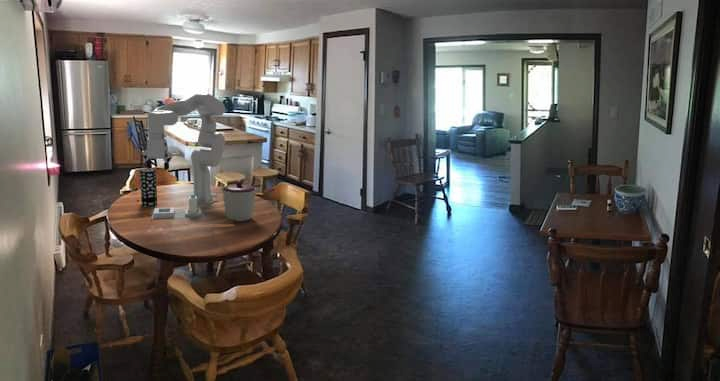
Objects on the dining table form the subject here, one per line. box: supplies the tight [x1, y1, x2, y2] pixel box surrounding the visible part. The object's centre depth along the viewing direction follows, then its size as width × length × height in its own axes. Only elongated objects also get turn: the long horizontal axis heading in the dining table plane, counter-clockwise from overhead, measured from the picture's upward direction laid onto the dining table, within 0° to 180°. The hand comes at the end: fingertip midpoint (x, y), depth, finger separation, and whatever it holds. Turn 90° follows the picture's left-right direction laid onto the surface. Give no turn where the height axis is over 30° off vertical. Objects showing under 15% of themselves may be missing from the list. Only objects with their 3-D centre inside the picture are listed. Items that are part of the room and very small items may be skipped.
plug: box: [188, 194, 198, 213], centre depth 282 cm, size 4×6×10 cm, turn 17°
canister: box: [221, 180, 258, 223], centre depth 280 cm, size 18×18×21 cm
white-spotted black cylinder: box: [139, 168, 158, 208], centre depth 301 cm, size 8×8×20 cm
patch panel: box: [150, 206, 205, 222], centre depth 281 cm, size 26×14×4 cm, turn 107°
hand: (158, 169), depth 276 cm, fingers open, 9 cm apart
